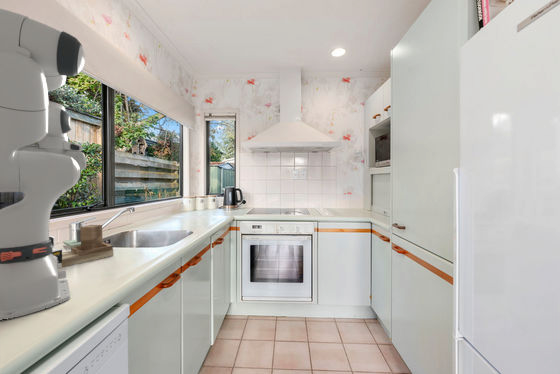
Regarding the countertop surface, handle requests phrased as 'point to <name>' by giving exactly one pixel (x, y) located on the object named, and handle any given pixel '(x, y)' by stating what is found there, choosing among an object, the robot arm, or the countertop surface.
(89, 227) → the block
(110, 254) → the puzzle board
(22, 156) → the robot arm
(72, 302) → the countertop surface
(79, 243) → the cover
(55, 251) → the medicine bottle
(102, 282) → the countertop surface
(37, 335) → the countertop surface
